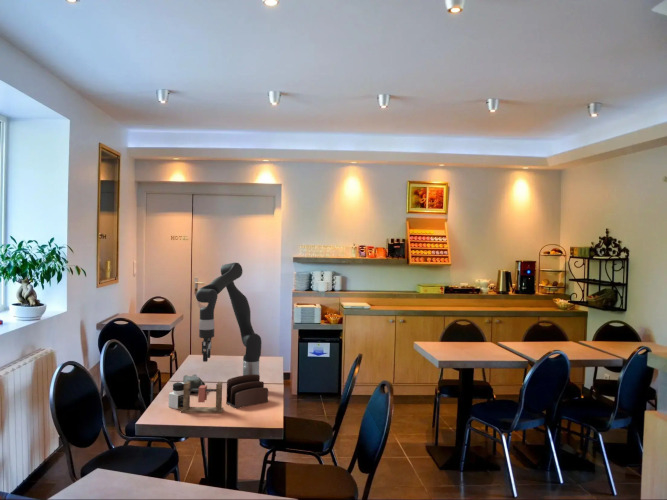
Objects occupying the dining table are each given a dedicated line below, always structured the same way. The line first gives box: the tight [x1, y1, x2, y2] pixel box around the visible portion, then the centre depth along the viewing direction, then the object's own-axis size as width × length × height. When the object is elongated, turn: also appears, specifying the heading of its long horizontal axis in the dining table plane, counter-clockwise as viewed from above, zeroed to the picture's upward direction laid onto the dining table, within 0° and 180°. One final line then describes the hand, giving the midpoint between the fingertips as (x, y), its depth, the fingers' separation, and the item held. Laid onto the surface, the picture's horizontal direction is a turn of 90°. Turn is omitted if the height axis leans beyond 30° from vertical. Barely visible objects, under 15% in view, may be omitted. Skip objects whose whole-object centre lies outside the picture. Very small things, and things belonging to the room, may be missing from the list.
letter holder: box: [225, 374, 269, 409], centre depth 272 cm, size 10×20×14 cm, turn 130°
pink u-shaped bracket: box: [197, 384, 208, 403], centre depth 256 cm, size 3×6×7 cm, turn 2°
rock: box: [182, 374, 206, 394], centre depth 293 cm, size 18×11×8 cm, turn 27°
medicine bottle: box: [168, 381, 184, 410], centre depth 262 cm, size 7×7×12 cm
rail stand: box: [180, 381, 225, 414], centre depth 256 cm, size 20×6×14 cm, turn 92°
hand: (206, 359), depth 262 cm, fingers open, 8 cm apart
